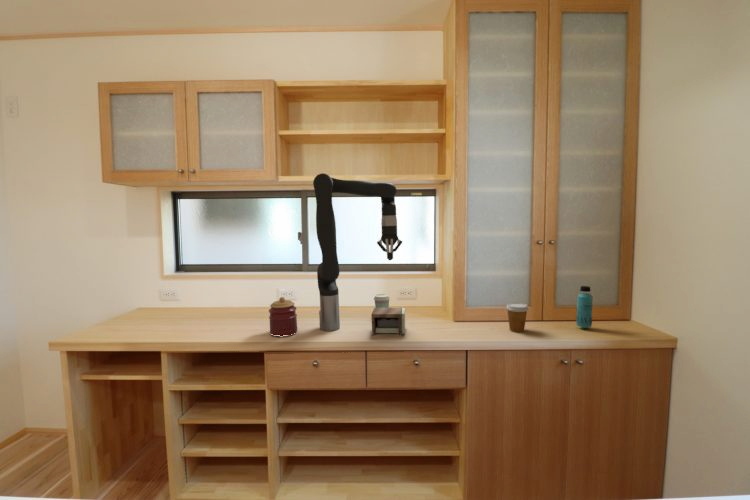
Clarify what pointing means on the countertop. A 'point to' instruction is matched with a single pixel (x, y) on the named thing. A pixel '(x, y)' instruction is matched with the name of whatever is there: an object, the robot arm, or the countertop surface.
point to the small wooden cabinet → (386, 313)
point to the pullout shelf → (393, 330)
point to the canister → (283, 317)
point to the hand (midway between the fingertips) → (390, 259)
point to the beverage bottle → (584, 308)
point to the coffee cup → (381, 301)
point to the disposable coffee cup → (517, 316)
